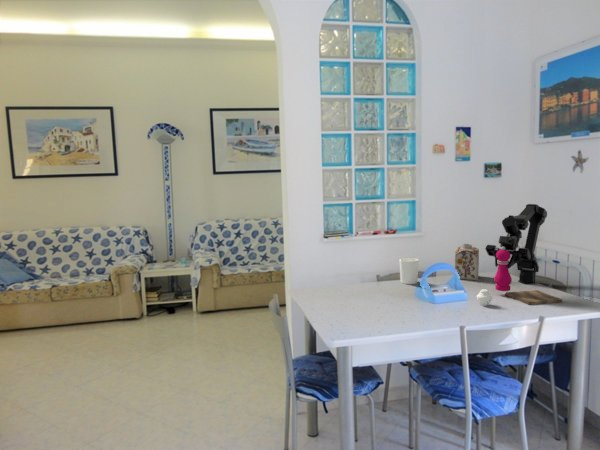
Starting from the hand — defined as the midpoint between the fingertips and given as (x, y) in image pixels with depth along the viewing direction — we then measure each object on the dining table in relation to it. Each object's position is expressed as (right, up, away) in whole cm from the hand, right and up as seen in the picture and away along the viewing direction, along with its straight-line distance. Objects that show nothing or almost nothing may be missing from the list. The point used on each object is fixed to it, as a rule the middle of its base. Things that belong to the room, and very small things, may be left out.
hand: (501, 267), depth 205 cm
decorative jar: (-2, -9, +38) cm, 39 cm away
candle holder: (-35, -11, +30) cm, 47 cm away
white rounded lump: (-13, -15, -12) cm, 23 cm away
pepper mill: (+1, -11, +2) cm, 11 cm away
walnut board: (+12, -14, -4) cm, 19 cm away
